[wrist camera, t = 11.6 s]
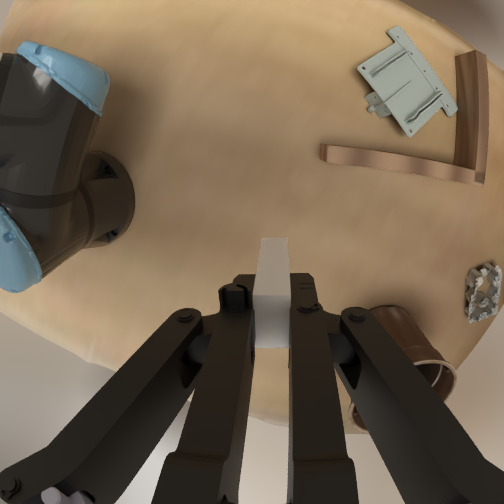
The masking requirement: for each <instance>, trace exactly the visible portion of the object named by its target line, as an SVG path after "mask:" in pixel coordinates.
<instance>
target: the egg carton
mask: <svg viewBox="0 0 504 504" xmlns="http://www.w3.org/2000/svg"><path fill="white" fill-rule="evenodd" d="M491 268H492V270H491V271H490V269H491ZM489 271H490V272H489ZM488 272H489V274H488ZM487 274H488V276H487V279H488V281H489V282H490V283H491V286H490V287H489V288H488V289H487V296H488V297H489V298H490V300H488V298H487V297H486V296H485V295H484V294H483V293H482V292H481V291H479V292H477V288H478V287H479V286H481V285H482V283H483V277H482V276H485V275H487ZM501 280H502V271H501V269H500V267H499V266H496V267H495V268H494V267H493V266H492V265H490V264H489V263H484V265H483V268H482V269H481V270H480V271H477V270H476V269H475V268H473V269H471V270H470V273H469V275H468V276H467V277H466V283H467V285H469V286H470V288H469V290H468V291H467V292H466V293H465V295H466V298H467V300H468V301H469V304H468V305H467V306H466V307H465V312H466V313H467V314H468V316H469V317H468V320H469V321H470V324H472V323H473V321H480V320H481V319H485V318H488V317H489V316H490V315H495V314H497V313H498V301H499V298H498V297H499V296H500V288H501ZM476 292H477V293H476ZM472 301H475V302H476V304H477V305H478V306H477V307H476V306H475V305H474V303H473V302H472ZM482 307H483V308H482ZM474 308H475V309H474ZM472 311H473V313H472Z"/></svg>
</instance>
